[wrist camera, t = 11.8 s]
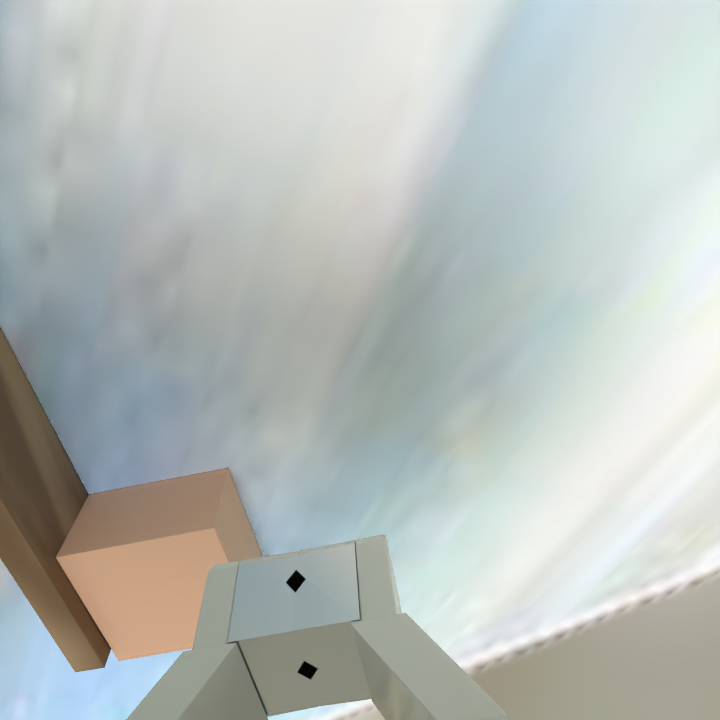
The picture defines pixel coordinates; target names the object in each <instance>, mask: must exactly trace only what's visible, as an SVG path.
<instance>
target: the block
mask: <svg viewBox="0 0 720 720" xmlns="http://www.w3.org/2000/svg"><path fill="white" fill-rule="evenodd" d="M258 557H263V556H262V553H261V551H260V548H259V545H258V543H257V540H256V538H255V535H254V533H253V530H252V527H251V525H250V522H249V520H248V517H247V515H246V512H245V509H244V507H243V504H242V502H241V499H240V497H239V494H238V492H237V489H236V486H235V484H234V481H233V479H232V476H231V474H230V471H229V468H224V469H219V470H214V471H209V472H203V473H198V474H193V475H188V476H183V477H177V478H172V479H167V480H162V481H156V482H151V483H146V484H141V485H136V486H130V487H125V488H120V489H115V490H109V491H104V492H99V493H94V494H89V495H88V497H87V499H86V501H85V503H84V505H83V506H82V508H81V510H80V512H79V514H78V516H77V518H76V520H75V522H74V524H73V525H72V527H71V529H70V531H69V533H68V535H67V537H66V539H65V541H64V543H63V545H62V546H61V548H60V550H59V552H58V554H57V556H56V559H57V561H58V562H59V564H60V565H61V567H62V569H63V570H64V572H65V574H66V575H67V577H68V579H69V580H70V582H71V583H72V585H73V587H74V588H75V590H76V592H77V593H78V595H79V597H80V598H81V600H82V601H83V603H84V605H85V606H86V608H87V610H88V611H89V613H90V614H91V616H92V618H93V619H94V621H95V623H96V624H97V626H98V628H99V629H100V631H101V632H102V634H103V636H104V637H105V639H106V641H107V642H108V644H109V646H110V647H111V649H112V650H113V652H114V654H115V655H116V657H117V659H118V660H119V661H122V660H127V659H133V658H139V657H145V656H150V655H156V654H162V653H167V652H173V651H179V650H185V649H190V648H193V643H194V638H195V633H196V629H197V624H198V619H199V614H200V609H201V604H202V599H203V594H204V589H205V584H206V579H207V574H208V572H209V570H210V569H211V567H212V565H216V564H222V563H229V562H236V561H242V560H245V559H251V558H258Z"/></svg>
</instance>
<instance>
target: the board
mask: <svg viewBox="0 0 720 720" xmlns="http://www.w3.org/2000/svg"><path fill="white" fill-rule="evenodd" d="M87 497H88V494H87V492H86V490H85V488H84V486H83V484H82V482H81V480H80V478H79V477H78V475H77V473H76V471H75V469H74V467H73V465H72V463H71V461H70V459H69V458H68V456H67V454H66V452H65V450H64V448H63V446H62V444H61V442H60V440H59V439H58V437H57V435H56V433H55V431H54V429H53V427H52V425H51V423H50V421H49V419H48V418H47V416H46V414H45V412H44V410H43V408H42V406H41V404H40V402H39V400H38V399H37V397H36V395H35V393H34V391H33V389H32V387H31V385H30V383H29V381H28V380H27V378H26V376H25V374H24V372H23V370H22V368H21V366H20V364H19V362H18V361H17V359H16V357H15V355H14V353H13V351H12V349H11V347H10V345H9V343H8V342H7V340H6V338H5V336H4V334H3V332H2V330H1V328H0V558H1V560H2V561H3V563H4V564H5V566H6V567H7V569H8V570H9V572H10V573H11V575H12V576H13V578H14V579H15V581H16V582H17V584H18V586H19V587H20V589H21V590H22V592H23V593H24V595H25V596H26V598H27V599H28V601H29V602H30V604H31V605H32V607H33V608H34V610H35V611H36V613H37V614H38V616H39V618H40V619H41V621H42V622H43V624H44V625H45V627H46V628H47V630H48V631H49V633H50V634H51V636H52V637H53V639H54V640H55V642H56V643H57V645H58V646H59V648H60V650H61V651H62V653H63V654H64V656H65V657H66V659H67V660H68V662H69V663H70V665H71V666H72V668H73V669H74V671H75V672H80V671H86V670H92V669H98V668H104V667H105V664H106V662H107V659H108V656H109V653H110V650H111V647H110V646H109V644H108V642H107V641H106V639H105V637H104V636H103V634H102V632H101V631H100V629H99V628H98V626H97V624H96V623H95V621H94V619H93V618H92V616H91V614H90V613H89V611H88V610H87V608H86V606H85V605H84V603H83V601H82V600H81V598H80V597H79V595H78V593H77V592H76V590H75V588H74V587H73V585H72V583H71V582H70V580H69V579H68V577H67V575H66V574H65V572H64V570H63V569H62V567H61V565H60V564H59V562H58V561H57V559H56V556H57V554H58V552H59V550H60V548H61V546H62V545H63V543H64V541H65V539H66V537H67V535H68V533H69V531H70V529H71V527H72V525H73V524H74V522H75V520H76V518H77V516H78V514H79V512H80V510H81V508H82V506H83V505H84V503H85V501H86V499H87Z"/></svg>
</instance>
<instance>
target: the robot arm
mask: <svg viewBox="0 0 720 720" xmlns="http://www.w3.org/2000/svg"><path fill="white" fill-rule="evenodd" d="M367 699H372V702H373V703H374V704H375V706H376V707H377V709H378V710H379V711H380V713H381V714H382V715H383V717H384V718H385V720H509V717H508V715H507V713H506V712H505V711H504V710H502V709H501V707H500V706H498V705H497V704H496V703H495V702H494V701H493V700H492V699H491V698H490V697H489V696H488V695H487V694H486V693H485V692H484V691H483V690H482V689H481V688H480V687H479V686H478V685H477V684H476V683H475V682H474V681H473V680H472V679H471V678H470V677H469V676H468V675H467V674H466V673H465V672H464V671H463V670H462V669H461V668H460V667H459V666H458V665H457V664H456V663H455V662H454V661H453V660H452V659H451V658H450V657H449V656H448V655H447V654H446V653H445V652H444V651H443V650H442V649H441V648H440V647H439V646H438V645H437V644H436V643H435V642H434V641H433V640H432V639H431V638H430V637H429V636H428V635H427V634H426V633H425V632H424V631H423V630H422V629H421V628H420V627H419V626H418V625H417V624H416V623H415V622H414V621H413V620H412V619H411V618H410V617H409V616H408V615H407V614H406V613H403V614H402V612H401V607H400V601H399V596H398V591H397V586H396V581H395V576H394V571H393V566H392V562H391V557H390V552H389V547H388V542H387V538H386V535H379V536H374V537H369V538H363V539H358V540H354V541H348V542H343V543H338V544H332V545H327V546H322V547H316V548H311V549H306V550H300V551H297V552H290V553H284V554H277V555H271V556H264V557H258V558H251V559H245V560H242V561H236V562H229V563H222V564H216V565H212V567H211V569H210V570H209V572H208V574H207V579H206V584H205V589H204V594H203V599H202V604H201V609H200V614H199V619H198V624H197V629H196V633H195V638H194V643H193V648H192V650H190V651H185V652H183V653H182V654H181V655H180V656H179V657H178V659H177V660H176V661H175V662H174V663H173V665H172V666H171V667H170V668H169V669H168V671H167V672H166V673H165V674H164V675H163V676H162V678H161V679H160V680H159V681H158V682H157V684H156V685H155V686H154V687H153V688H152V690H151V691H150V692H149V693H148V694H147V696H146V697H145V698H144V699H143V700H142V702H141V703H140V704H139V705H138V706H137V707H136V709H135V710H134V711H133V712H132V713H131V715H130V716H129V717H128V718H127V719H126V720H268V718H267V717H268V716H273V715H278V714H283V713H288V712H293V711H298V710H303V709H308V708H313V707H318V706H324V705H331V704H338V703H346V702H353V701H360V700H367Z"/></svg>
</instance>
